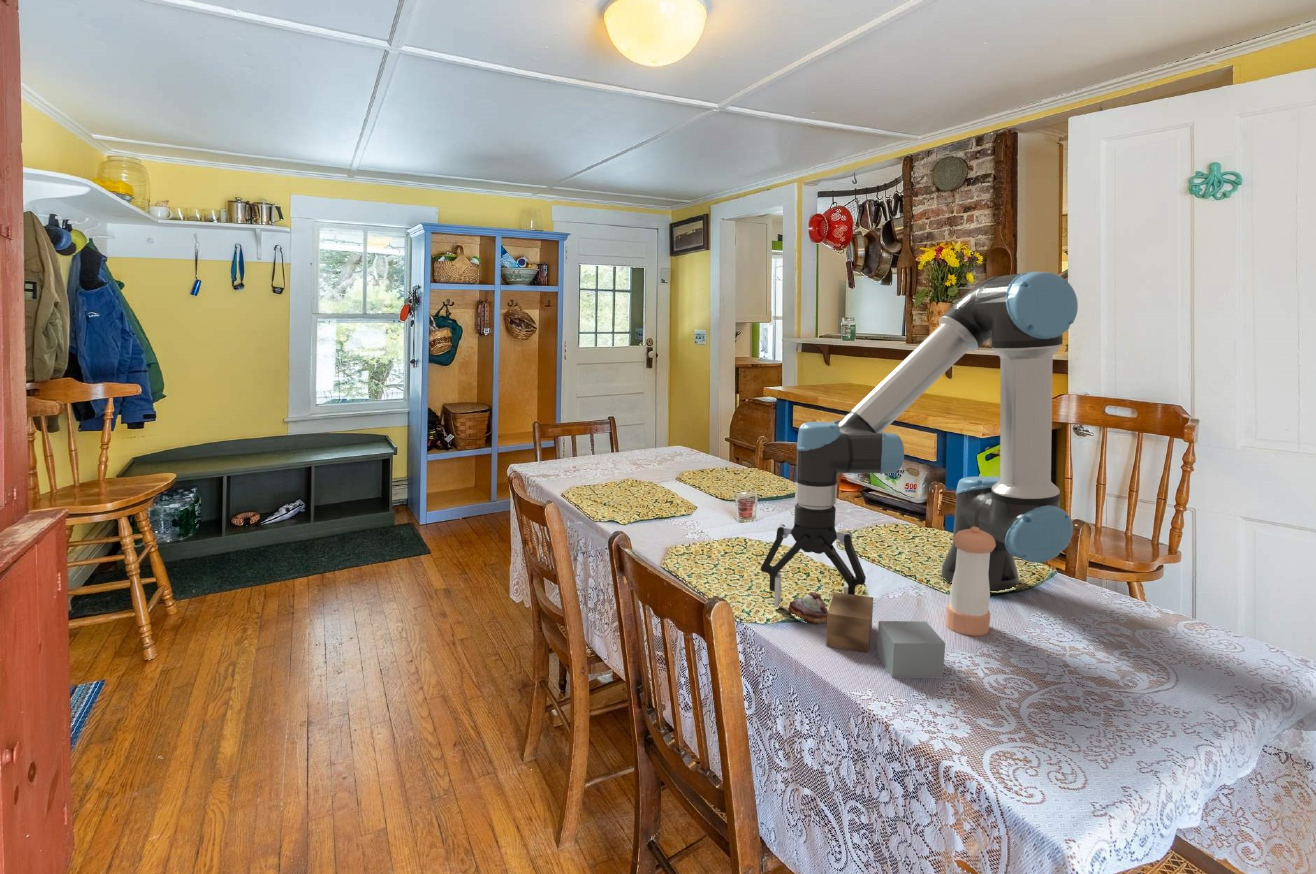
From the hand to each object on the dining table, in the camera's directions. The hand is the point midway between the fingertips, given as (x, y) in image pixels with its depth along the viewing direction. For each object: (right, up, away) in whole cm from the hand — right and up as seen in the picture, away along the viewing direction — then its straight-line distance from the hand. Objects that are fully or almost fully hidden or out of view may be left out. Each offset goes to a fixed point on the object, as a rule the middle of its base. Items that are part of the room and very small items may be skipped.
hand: (810, 612), depth 132 cm
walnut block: (+5, -2, -10) cm, 11 cm away
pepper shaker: (+28, -1, -6) cm, 28 cm away
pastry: (-1, -1, -1) cm, 2 cm away
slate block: (+12, -4, -20) cm, 23 cm away
